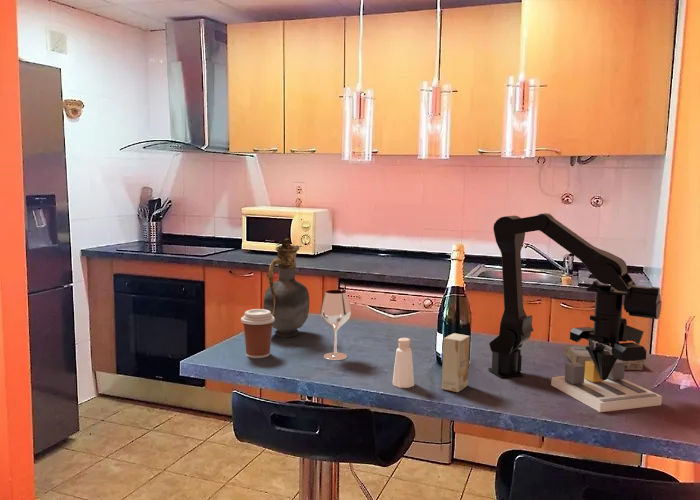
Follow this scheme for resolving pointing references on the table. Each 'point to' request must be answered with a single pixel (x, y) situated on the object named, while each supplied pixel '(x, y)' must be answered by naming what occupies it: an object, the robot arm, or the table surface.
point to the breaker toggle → (591, 372)
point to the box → (582, 355)
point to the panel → (605, 389)
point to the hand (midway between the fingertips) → (603, 379)
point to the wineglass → (335, 316)
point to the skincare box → (455, 362)
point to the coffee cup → (257, 332)
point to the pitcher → (286, 293)
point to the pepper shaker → (403, 365)
